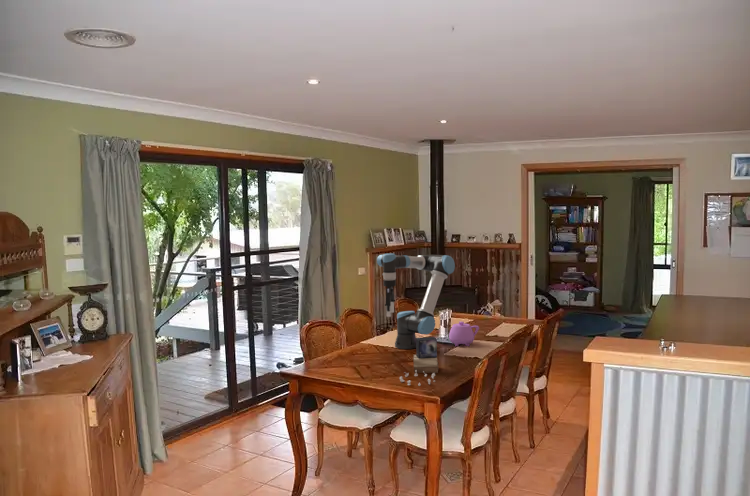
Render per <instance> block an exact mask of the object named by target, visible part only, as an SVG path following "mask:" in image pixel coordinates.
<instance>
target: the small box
mask: <svg viewBox="0 0 750 496" xmlns="http://www.w3.org/2000/svg"><path fill="white" fill-rule="evenodd" d="M437 344H438V339H437V338H436V337H435V336H429V337H427V336H426V337H416V348H415V349H416V351H415V353H416V354H415V355H416V356H417V357H418V358H419V359H420V358H437V359H438V345H437Z"/></svg>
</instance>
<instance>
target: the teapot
mask: <svg viewBox="0 0 750 496" xmlns="http://www.w3.org/2000/svg"><path fill="white" fill-rule="evenodd" d="M474 328H475V331H473V329H474ZM479 330H480V326H479V325H471V324H470V323H465V322H464V321H458V323H454V324H452V327H451V328H450V330H449V334H448V340H449V341H450V342H451V344H455V346H454V347H459V345H464V346H465V347H470V346H471V345H470V344H473V342H474V340H475V336H476V335H477V334H478V332H479Z"/></svg>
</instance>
